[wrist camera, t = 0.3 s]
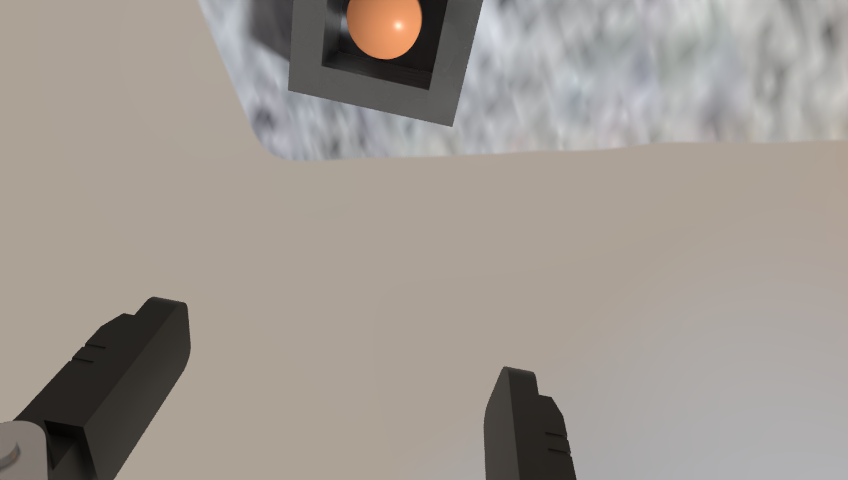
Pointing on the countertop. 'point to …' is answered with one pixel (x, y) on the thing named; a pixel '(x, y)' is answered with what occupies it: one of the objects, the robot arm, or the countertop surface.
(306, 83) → the frame
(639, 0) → the countertop surface
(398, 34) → the orange dome
